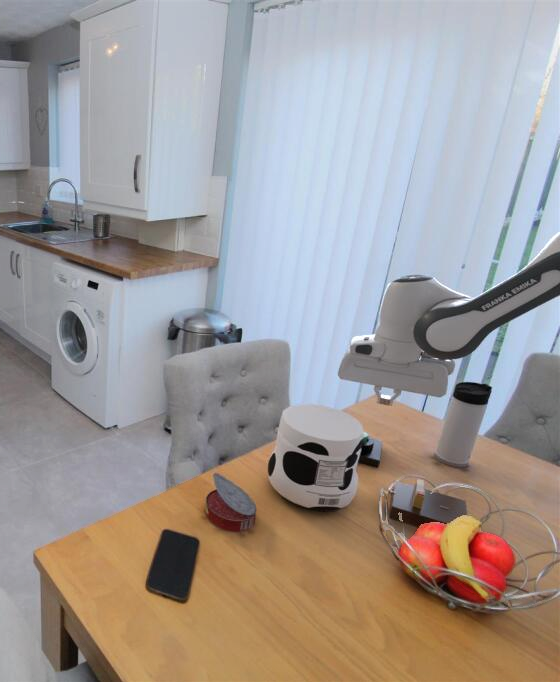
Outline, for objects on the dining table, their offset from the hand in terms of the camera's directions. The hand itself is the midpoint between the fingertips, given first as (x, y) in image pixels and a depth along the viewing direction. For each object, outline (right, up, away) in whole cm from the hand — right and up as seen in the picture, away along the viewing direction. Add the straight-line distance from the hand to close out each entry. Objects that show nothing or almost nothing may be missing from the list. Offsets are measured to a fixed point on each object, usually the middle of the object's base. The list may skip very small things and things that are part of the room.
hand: (384, 403), depth 110 cm
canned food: (-39, -22, -10) cm, 46 cm away
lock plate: (0, -21, -12) cm, 24 cm away
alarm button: (-1, -10, +8) cm, 13 cm away
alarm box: (-1, -13, +9) cm, 16 cm away
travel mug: (+20, -14, +5) cm, 25 cm away
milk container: (-20, -19, -4) cm, 28 cm away
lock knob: (-2, -18, -12) cm, 22 cm away
